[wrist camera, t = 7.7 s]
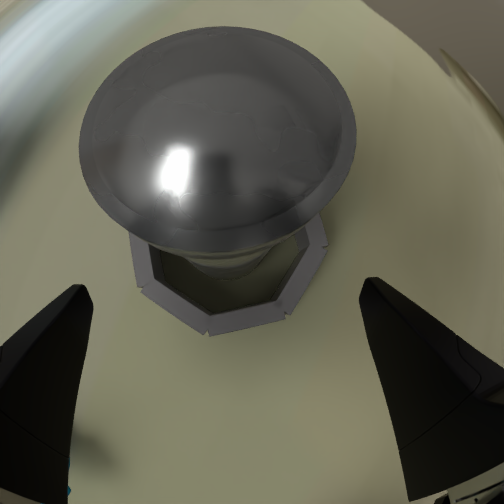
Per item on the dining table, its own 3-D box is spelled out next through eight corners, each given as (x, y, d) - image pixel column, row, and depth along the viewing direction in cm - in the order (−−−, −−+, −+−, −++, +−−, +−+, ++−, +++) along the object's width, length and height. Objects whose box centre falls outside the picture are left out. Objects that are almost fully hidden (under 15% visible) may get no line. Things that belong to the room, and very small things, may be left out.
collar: (327, 302, 17) (342, 303, 14) (161, 340, 16) (150, 347, 13) (286, 150, 18) (293, 131, 16) (135, 181, 17) (122, 165, 15)
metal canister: (289, 248, 17) (404, 144, 5) (217, 303, 16) (174, 323, 4) (234, 181, 18) (243, 6, 5) (164, 231, 17) (51, 109, 4)
